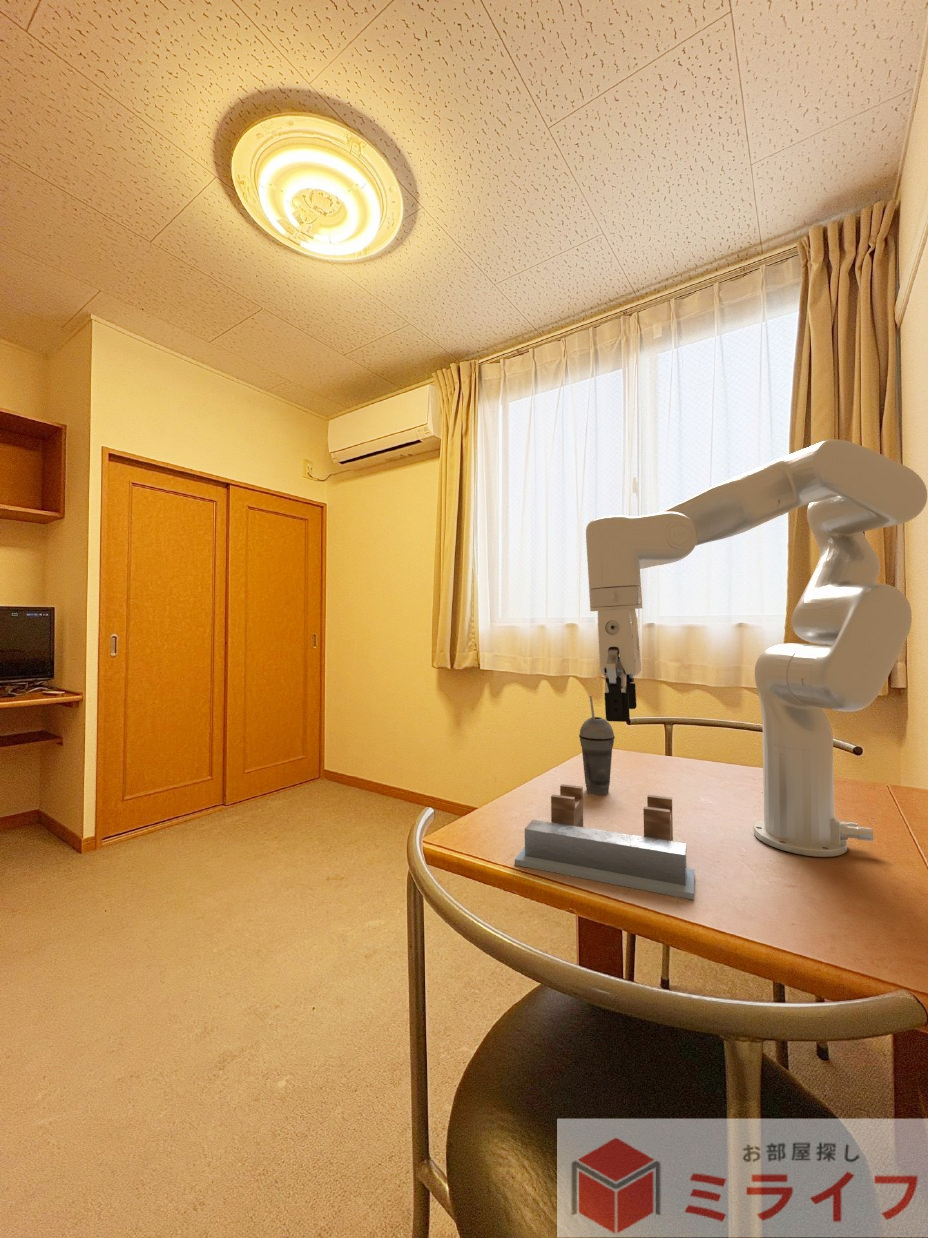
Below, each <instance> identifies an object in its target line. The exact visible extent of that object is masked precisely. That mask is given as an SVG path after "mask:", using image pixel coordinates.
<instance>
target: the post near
mask: <svg viewBox="0 0 928 1238" xmlns="http://www.w3.org/2000/svg"><path fill="white" fill-rule="evenodd" d="M646 797H647V798H646V799H647V800H646V801H647V803H646V804H647V806H645V805H644V806H643V837H649V838H655V839H662V840H668V841H674V838H673V837H674V833H673V831H674V829H673V827H674V826H673V819H674V818H673V797H672V796H671V797H670V796H664V795H663V796H661V795H654V794H647V796H646Z"/></svg>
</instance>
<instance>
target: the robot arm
mask: <svg viewBox="0 0 928 1238" xmlns="http://www.w3.org/2000/svg"><path fill="white" fill-rule="evenodd" d="M927 501H928V489H927V486H926V484H925V482H924V480H923V479H922V478H921V476H920V475H919V474H918V473H917V472H915V471H914V470H913V469H911V468H910V467H908V466H906V465H905V464H903V463H899V462H898V461H895V460H894V459H891V458H889V457H887V456H885V455H883V454H881V453H879V452H877V451H874V450H873V449H870V448H867V447H865V446H864V445H860V444H858V443H855V442H851V441H849V440H843V439H835V438H831V439H827V440H823V441H820V442H818V443H816V444H813V445H810V446H809V447H806V448H802V449H800V450H798V451H795V452H793V453H790V454H788V455H785V456H783V457H780V458H778V459H776V460H773V461H771V462H769V463H766V464H764V465H762V466H758V467H756V468H755V469H752V470H750V471H748V472H745V473H742V474H741V475H738V476H735V477H733V478H730V479H728V480H726V481H723V482H721V483H719V484H717V485H715V486H712V487H710V488H708V489H706V490H704V491H702V492H701V493H699V494H698V493H697V495H695V496H693V497H690V498H689V499H687V500H684V501H682V502H680V503H678V504H675V505H674V506H671V507H669V508H667V509H664V510H663V511H660V512H657V513H653V514H647V515H639V516H629V515H628V516H627V515H609V516H603V517H599V518H596V519H593V520H591V521H590V522H589V523H588V524H587V526H586V528H585V543H586V556H587V557H586V558H587V561H586V562H587V574H588V589H589V590H588V593H589V594H588V595H589V610H590V612H597V633H598V634H597V636H598V653H599V655H598V656H599V665H600V673H601V676H602V677H604V678H605V679H604V693H603V694H604V695H603V696H604V710H605V711H604V712H605V720H606V721H607V722H615V723H617V722H618V723H619V722H624V723H625V722H626V723H627V722H629V721H630V719H631V717H630V710H635V709H636V708H637V693H636V682H635V678H636V677H637V676H638V675H639V674H640V673H641V671H642V662H641V650H640V638H639V627H638V618H637V612H636V609H637V610H639V609H643V596H642V595H643V594H642V581H641V577H642V576H641V570H642V569H648V568H651V567H656V566H664V565H667V564H668V565H669V564H672V563H676V562H679V561H681V560H682V559H685V558H686V557H688V556H689V555H690V554H691V553H692V552H693V551H694V549H695V548H696V546H699V545H703V544H707V543H711V542H715V541H719V540H725V539H728V538H731V537H733V536H736V535H739V534H743V533H745V532H747V531H750V530H752V529H754V528H756V527H758V526H761V525H762V524H765V523H767V522H769V521H771V520H774V519H775V518H778V517H780V516H784V515H785V514H788V513H790V512H792V511H795V510H796V509H798V508H802V507H804V506H807V505H808V506H807V508H806V509H807V510H806V519H807V523H808V526H809V528H810V530H811V532H812V534H813V537H814V539H815V542H816V544H817V547H818V552H819V553H818V554H819V556H818V561H817V564H816V567H815V569H814V571H813V574H812V576H811V577H810V579H809V581H808V583H807V585H806V587H805V589H804V590H803V593H802V594H801V596H800V598H799V600H798V602H797V603H796V606H795V608H794V610H793V612H792V617H791V627H792V631H793V633H794V634H795V635H796V636H797V637H798V638H800V639H801V640H803V641H805V642H808V643H796V642H794V643H792V642H790V643H780V644H775V645H773V646H771V647H768V648H767V649H765V650H764V651H763V652H762V653H761V654H760V655H759V656H758V658H757V660H756V663H755V667H754V680H755V685H756V689H757V693H758V698H759V704H760V711H761V720H762V765H763V767H762V771H763V772H762V773H763V781H762V782H763V819H762V820H758V821H756V822H755V823H754V824H753V834H754V835H755V837H756V838H757V839H758V840H759V841H761V842H763V843H764V844H766V845H768V846H771V847H773V848H775V849H778V850H781V851H784V852H788V853H792V854H796V855H802V856H809V857H817V858H818V857H819V858H831V857H838V856H841V855H843V854H845V853H846V852H847V851H848V840H849V839H857V840H860V841H863V842H864V841H865V842H874V839H875V838H874V831H873V828H872V827H865V826H859V823H858V822H852V821H842V820H841V821H840V819H839V818H838V817H837V815H836V814H835V786H834V785H835V784H834V783H835V781H834V780H835V779H834V778H835V777H834V736H833V730H832V726H831V722H830V719H829V718H828V716H827V713H826V711H825V709H828V710H832V711H838V712H846V713H847V712H857V711H861V710H863V709H866V708H867V707H868V706H870V705H871V704H872V703H873V702H874V701H875V700H876V699H877V698H878V696H879V694H880V693H881V691H882V689H883V687H884V685H885V683H886V682H887V681H888V680H887V679H888V678H889V676H890V674H891V672H892V670H893V667H894V666H895V664H896V662H897V660H898V658H899V655H900V654H901V651H902V649H903V647H904V645H905V643H906V641H907V639H908V636H909V634H910V630H911V628H912V627H911V626H912V620H913V618H912V608H911V604H910V602H909V600H908V598H907V596H906V595H905V593H904V592H902V591H901V590H900V589H899V588H897V587H895V586H892V585H890V584H887V583H880V582H879V583H878V582H877V581H878V578H879V576H880V572H881V562H880V561H881V560H880V558H879V556H878V554H877V553H876V551H875V549H874V548H873V547H872V545H871V544H870V542H869V540H868V539H867V537H866V535H865V533H864V532H867V531H873V530H880V529H883V528H889V527H895V526H898V525H902V524H905V523H908V522H910V521H912V520H913V519H915V518H916V517H918V516H919V515H920V514H921V513H922V511H923V510H924V509H925V507H926V505H927ZM848 838H849V839H848Z"/></svg>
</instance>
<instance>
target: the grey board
mask: <svg viewBox="0 0 928 1238" xmlns="http://www.w3.org/2000/svg"><path fill="white" fill-rule="evenodd" d="M514 865H515V866H519V865H520V866H521V867H524V866H525V867H526V868H529V869H533V870H540V871H544V870H546V871H545V872H549V871H550V873H554V872H558V873H557V874H559V873H560V874H559V875H565V874H567V875H566V876H570V875H573V876H572V877H575V876H576V877H575V878H580V877H581V879H586V880H591V881H596V882H601V883H606V884H611V885H616V886H620V887H625V888H631V889H632V888H633V889H636V890H642V891H646V892H652V893H657V894H663V895H667V896H672V897H678V898H682V899H687V900H693V901H694V899H695V869H693V868H687V867H686V869H687V873H686V886H684V885H678V884H673V883H668V882H662V881H657V880H652V879H646V878H641V877H635V876H630V875H625V874H619V873H614V872H609V871H603V870H598V869H593V868H587V867H582V866H576V865H571V864H566V863H560V862H555V861H550V860H544V859H539V858H534V857H528V856H525V846H524V847H523V848H522V849H521V851H519V853H518V855H517V856H516V857H515V858H514ZM520 866H519V867H520ZM525 867H524V868H525Z"/></svg>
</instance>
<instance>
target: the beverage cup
mask: <svg viewBox="0 0 928 1238" xmlns="http://www.w3.org/2000/svg"><path fill="white" fill-rule="evenodd" d="M589 703H590V710H591V712H590V713H591V717H589V718H587V719H586V720H584V722H583V723H582V725H581V727H580V730H579V734H578V736H579V742H580V746H581V753H582V763H583V774H584V782H585V783H584V784H585V789H586V793H587V794H590V795H594V796H606V795H608V794H609V791H610V784H611V770H612V756H613V755H612V754H613V747H614V743H615V739H616V738H615V737H616V736H615V733H614V729H613V726H612V725H611V724H610V723H609V721H607V720H606V718H605V719H604V718H603V717H599V716H595V711H594V701H593V696H592V695H589Z"/></svg>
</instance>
